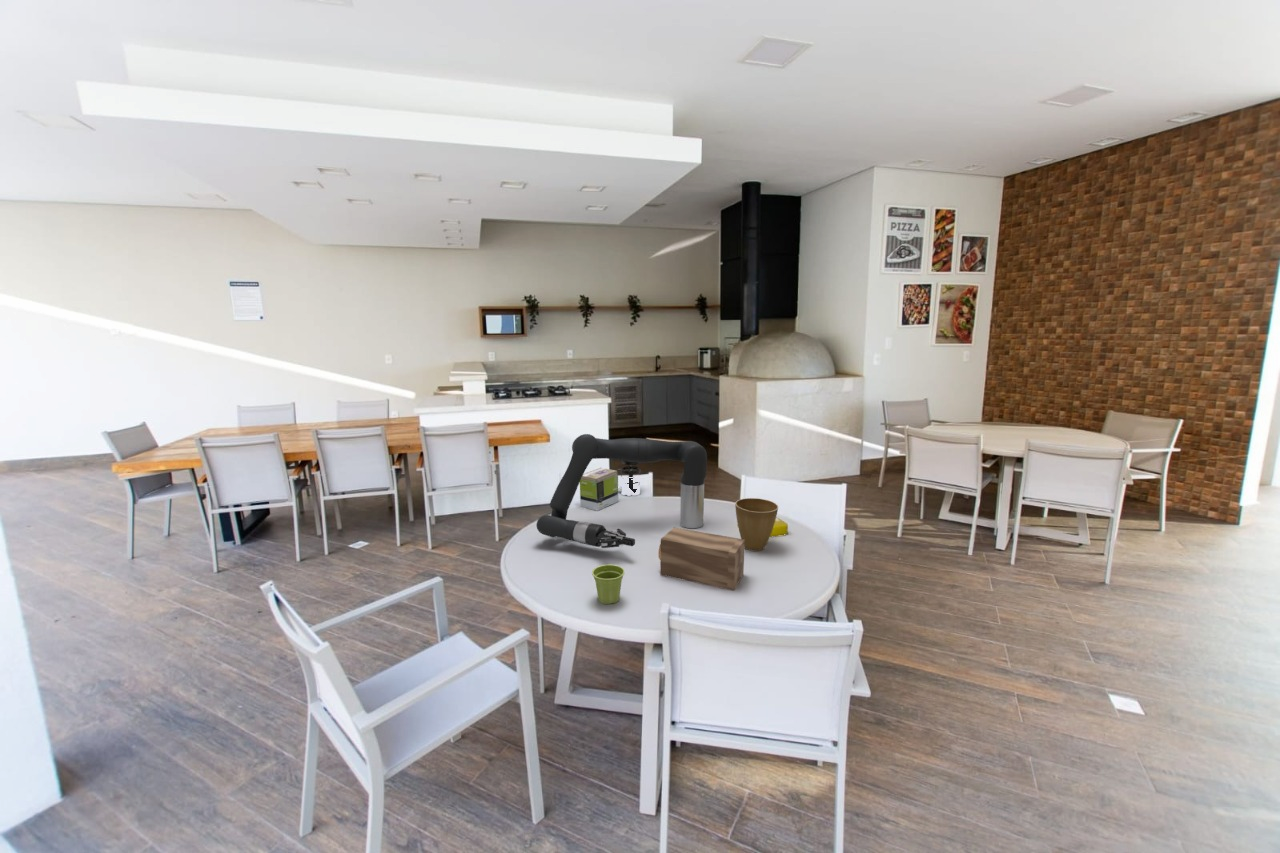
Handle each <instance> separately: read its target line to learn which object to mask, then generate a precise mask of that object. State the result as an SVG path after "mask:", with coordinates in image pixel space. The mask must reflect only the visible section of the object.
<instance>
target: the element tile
mask: <svg viewBox="0 0 1280 853" xmlns="http://www.w3.org/2000/svg"><path fill="white" fill-rule="evenodd" d="M788 528H789V526H788V523H787V522H785V521H784V520H782V519H780V518H779V517H777V516H776V520H775V523H774V526H773V529H772V532H771V535H770V537H769V538H773V537H772V536H775V537H779V536H778V535H783V536H785V535H784V534H787V535H788V530H789V529H788Z"/></svg>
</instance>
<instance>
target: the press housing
mask: <svg viewBox="0 0 1280 853" xmlns="http://www.w3.org/2000/svg"><path fill="white" fill-rule="evenodd" d="M660 544H661V557H660V559H659V561H660V562H659V563H660V568H659V570H660V576H665V577H671V578H673V579H678V580H684V581H688V582H693V583H698V584H703V585H705V586H706V585H707V586H710V587H711V586H712V587H716V588H721V589H724V590H729V591H734V590H735V589H736V588H737V586H738V584H739V583H740V581H741V579H742V578H743V577H744V567H745V540H744V539H741V538H737V537H731V536H725V535H720V534H715V533H710V532H703V531H699V530H698V531H696V530H692V529H687V528H686V529H685V528H679V527H673V528H671V529H670V530H669V531H668V532H667V533H666V534H664V536H662V538H660Z"/></svg>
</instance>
